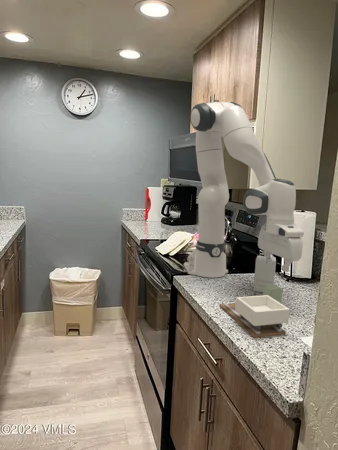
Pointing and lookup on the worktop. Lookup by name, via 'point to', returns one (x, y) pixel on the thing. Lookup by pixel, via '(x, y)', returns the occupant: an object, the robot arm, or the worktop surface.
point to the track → (263, 332)
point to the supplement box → (264, 273)
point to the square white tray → (262, 310)
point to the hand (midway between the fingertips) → (276, 267)
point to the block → (273, 292)
